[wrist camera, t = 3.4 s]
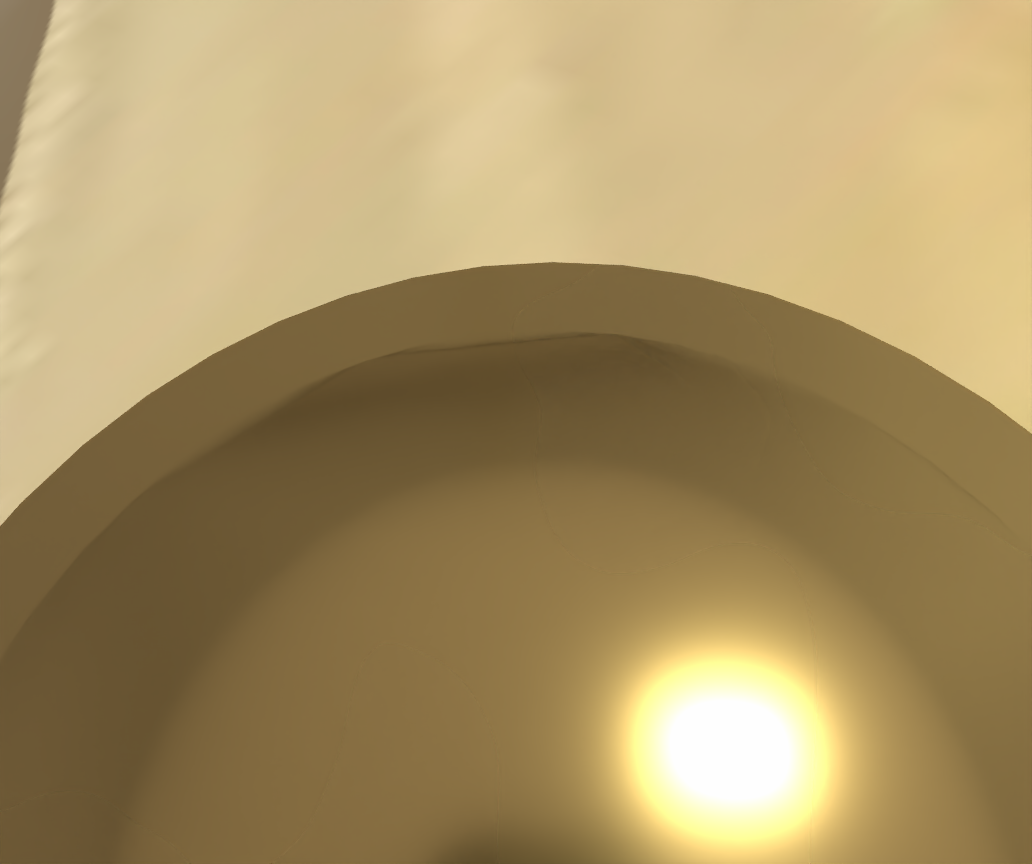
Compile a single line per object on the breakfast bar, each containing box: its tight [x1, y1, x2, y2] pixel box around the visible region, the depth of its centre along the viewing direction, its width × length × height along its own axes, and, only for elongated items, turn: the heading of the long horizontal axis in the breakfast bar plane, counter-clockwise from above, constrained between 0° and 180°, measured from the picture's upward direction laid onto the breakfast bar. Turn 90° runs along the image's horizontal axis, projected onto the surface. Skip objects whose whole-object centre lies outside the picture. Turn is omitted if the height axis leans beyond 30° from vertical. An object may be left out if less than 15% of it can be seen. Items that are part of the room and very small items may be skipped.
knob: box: [0, 262, 1032, 864], centre depth 8 cm, size 5×5×13 cm
